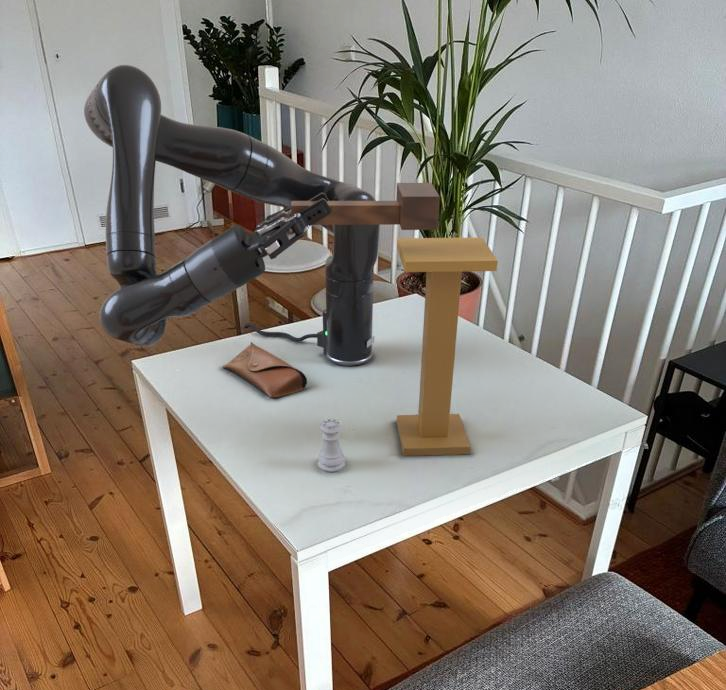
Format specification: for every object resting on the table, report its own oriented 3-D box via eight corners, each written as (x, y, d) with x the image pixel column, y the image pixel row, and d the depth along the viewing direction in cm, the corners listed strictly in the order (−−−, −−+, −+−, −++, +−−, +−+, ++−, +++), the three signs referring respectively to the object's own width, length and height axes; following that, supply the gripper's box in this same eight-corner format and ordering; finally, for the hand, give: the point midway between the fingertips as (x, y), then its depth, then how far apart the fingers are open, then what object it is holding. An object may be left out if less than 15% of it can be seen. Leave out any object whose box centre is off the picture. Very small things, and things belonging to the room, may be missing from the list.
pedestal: (464, 420, 130) (482, 237, 111) (475, 454, 121) (497, 260, 102) (390, 422, 129) (397, 238, 111) (397, 456, 120) (405, 261, 102)
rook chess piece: (317, 458, 119) (315, 415, 115) (344, 457, 119) (344, 414, 115) (318, 473, 115) (316, 429, 111) (346, 472, 116) (346, 428, 111)
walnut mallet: (429, 214, 107) (431, 182, 105) (437, 230, 101) (439, 196, 98) (292, 214, 106) (291, 182, 104) (291, 230, 100) (290, 196, 97)
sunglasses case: (218, 366, 146) (230, 334, 144) (245, 373, 151) (257, 343, 150) (271, 399, 135) (285, 365, 133) (298, 406, 140) (312, 373, 138)
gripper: (203, 257, 98) (314, 189, 94) (214, 227, 110) (313, 165, 105) (236, 303, 102) (343, 240, 98) (243, 270, 113) (339, 212, 109)
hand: (327, 202), depth 102 cm, fingers closed on walnut mallet, 2 cm apart
